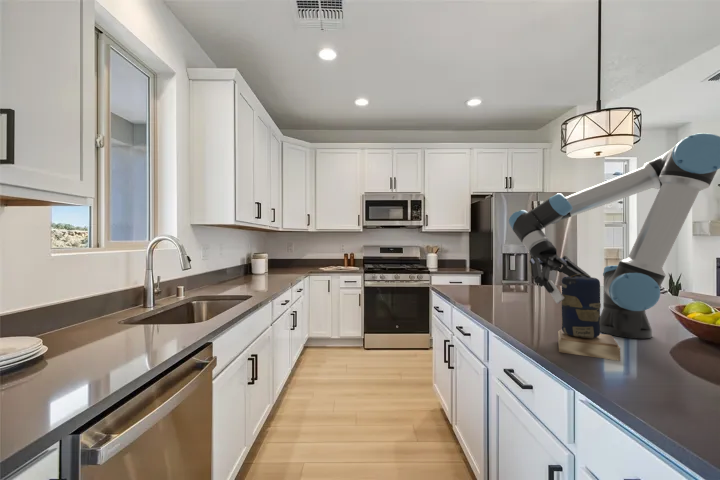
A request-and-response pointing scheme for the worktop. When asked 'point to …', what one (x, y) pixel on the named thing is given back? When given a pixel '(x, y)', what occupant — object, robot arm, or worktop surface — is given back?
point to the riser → (589, 346)
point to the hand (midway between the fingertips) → (578, 300)
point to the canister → (581, 306)
